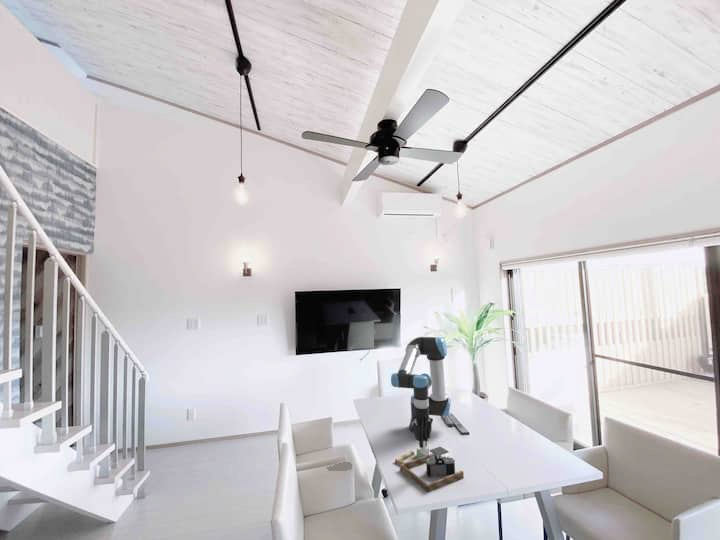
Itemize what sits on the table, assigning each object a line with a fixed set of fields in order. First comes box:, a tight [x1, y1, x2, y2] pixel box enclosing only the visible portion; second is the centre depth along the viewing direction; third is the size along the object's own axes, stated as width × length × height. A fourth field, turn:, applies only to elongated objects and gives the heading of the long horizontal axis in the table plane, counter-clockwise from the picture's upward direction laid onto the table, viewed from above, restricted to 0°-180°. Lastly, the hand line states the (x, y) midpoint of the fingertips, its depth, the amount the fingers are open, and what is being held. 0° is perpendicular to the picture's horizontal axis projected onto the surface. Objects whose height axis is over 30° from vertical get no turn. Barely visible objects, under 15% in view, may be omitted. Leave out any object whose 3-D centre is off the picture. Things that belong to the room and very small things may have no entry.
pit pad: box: [429, 446, 449, 456], centre depth 195 cm, size 8×7×1 cm
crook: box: [394, 450, 415, 466], centre depth 186 cm, size 14×7×2 cm, turn 130°
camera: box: [425, 454, 456, 478], centre depth 173 cm, size 16×9×10 cm, turn 90°
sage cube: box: [416, 446, 430, 459], centre depth 190 cm, size 5×5×5 cm
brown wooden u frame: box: [399, 452, 464, 493], centre depth 172 cm, size 23×22×3 cm
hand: (423, 453), depth 170 cm, fingers closed
